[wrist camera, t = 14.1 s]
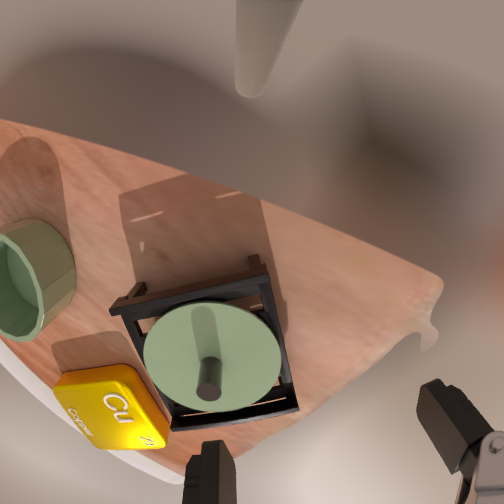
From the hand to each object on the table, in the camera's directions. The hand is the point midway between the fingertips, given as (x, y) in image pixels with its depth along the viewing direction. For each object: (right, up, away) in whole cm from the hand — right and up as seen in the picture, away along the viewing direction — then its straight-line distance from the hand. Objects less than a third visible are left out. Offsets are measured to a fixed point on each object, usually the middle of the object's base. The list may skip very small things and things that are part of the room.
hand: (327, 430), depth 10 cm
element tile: (-25, -17, +30) cm, 43 cm away
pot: (-32, +5, +23) cm, 40 cm away
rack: (-8, -3, +27) cm, 28 cm away
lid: (-7, -5, +21) cm, 22 cm away
